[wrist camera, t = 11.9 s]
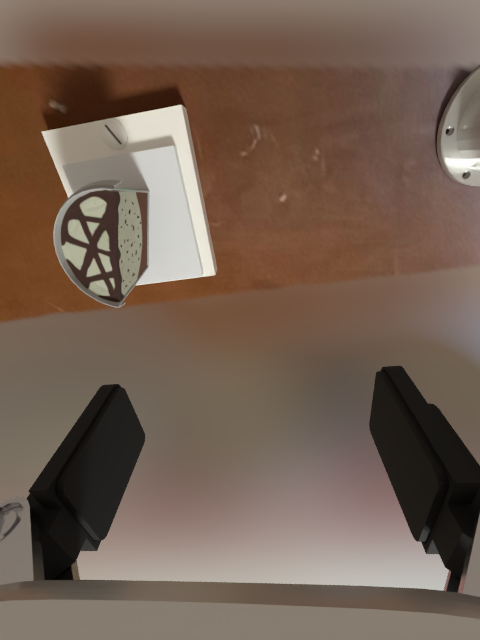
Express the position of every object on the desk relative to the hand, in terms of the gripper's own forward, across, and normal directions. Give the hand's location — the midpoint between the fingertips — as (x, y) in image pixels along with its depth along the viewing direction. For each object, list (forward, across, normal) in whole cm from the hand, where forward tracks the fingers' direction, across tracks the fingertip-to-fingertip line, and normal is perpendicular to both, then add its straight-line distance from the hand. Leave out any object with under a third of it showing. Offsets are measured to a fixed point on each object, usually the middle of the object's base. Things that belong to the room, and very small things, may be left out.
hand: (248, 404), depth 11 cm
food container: (+28, +16, -3) cm, 32 cm away
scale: (+31, +14, -4) cm, 34 cm away
